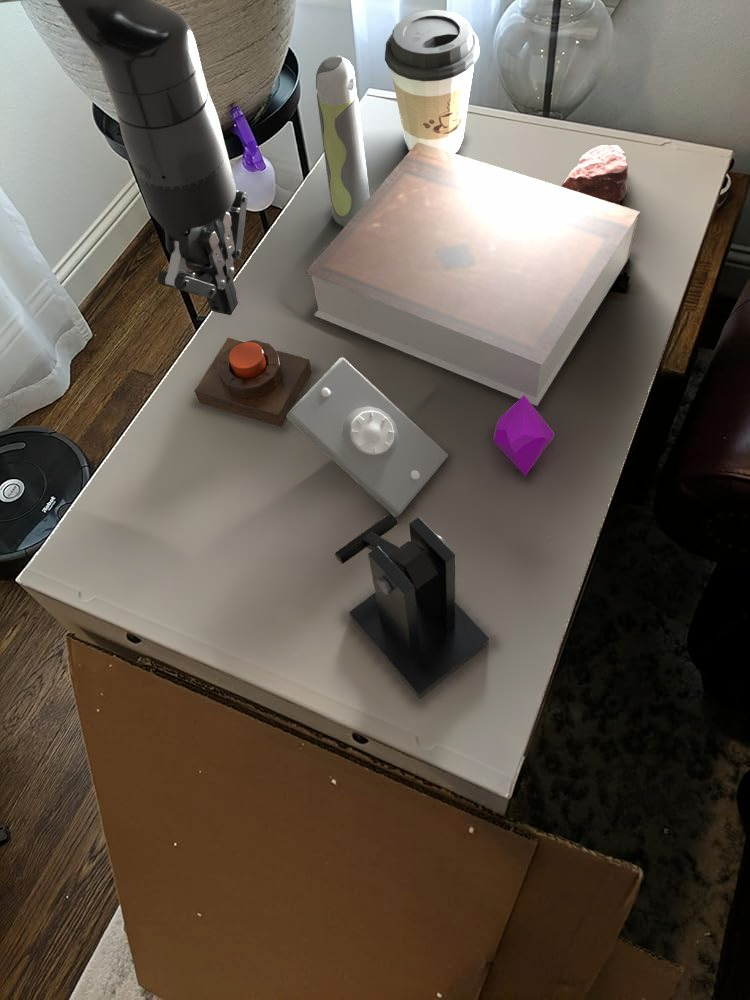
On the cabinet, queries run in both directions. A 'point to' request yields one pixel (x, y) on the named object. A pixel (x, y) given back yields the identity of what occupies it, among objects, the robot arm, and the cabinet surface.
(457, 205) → the book
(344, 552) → the lever
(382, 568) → the bracket
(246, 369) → the button
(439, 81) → the coffee cup
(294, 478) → the cabinet surface
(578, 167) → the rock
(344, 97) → the grey and green cylinder
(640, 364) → the cabinet surface
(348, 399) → the light switch
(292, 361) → the control block
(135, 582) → the cabinet surface
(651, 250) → the cabinet surface
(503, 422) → the crystal
